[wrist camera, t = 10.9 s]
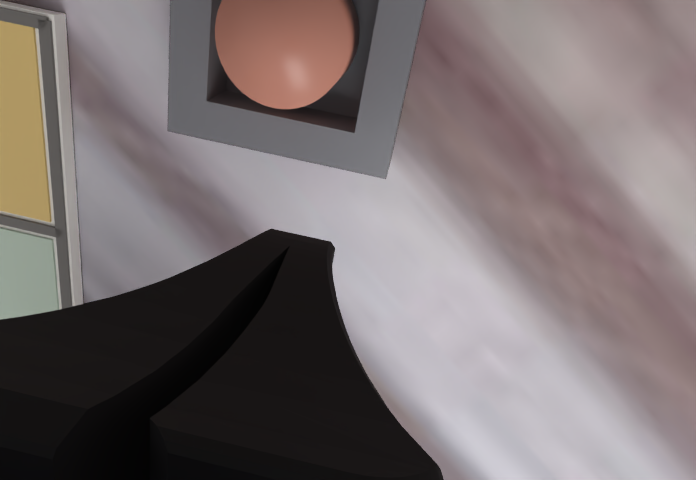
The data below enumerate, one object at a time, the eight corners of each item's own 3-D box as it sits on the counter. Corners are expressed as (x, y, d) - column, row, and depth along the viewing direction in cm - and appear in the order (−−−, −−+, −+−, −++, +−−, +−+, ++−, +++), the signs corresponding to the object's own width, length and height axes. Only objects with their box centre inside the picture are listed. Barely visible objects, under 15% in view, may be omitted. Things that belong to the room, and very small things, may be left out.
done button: (348, 102, 17) (335, 121, 15) (238, 79, 18) (210, 94, 15) (369, -21, 16) (358, -20, 14) (248, -46, 16) (219, -48, 14)
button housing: (391, 159, 19) (385, 178, 17) (193, 115, 19) (167, 131, 17) (442, -76, 15) (443, -83, 14) (203, -122, 16) (173, -134, 14)
